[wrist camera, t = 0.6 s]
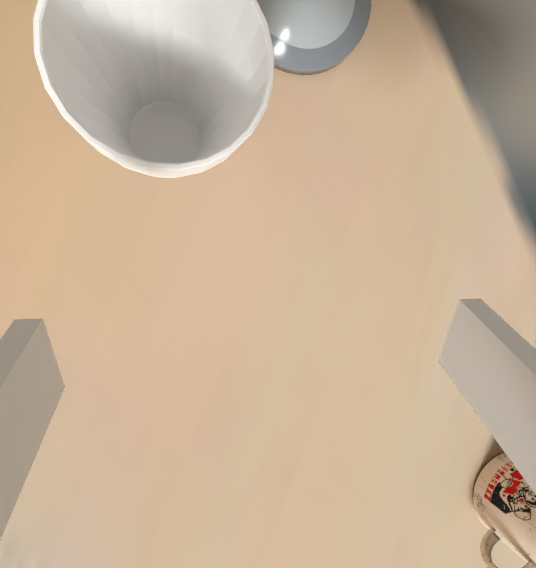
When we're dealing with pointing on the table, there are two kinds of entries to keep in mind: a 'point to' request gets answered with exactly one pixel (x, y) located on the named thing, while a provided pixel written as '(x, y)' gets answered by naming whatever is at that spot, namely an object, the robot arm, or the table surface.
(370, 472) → the table surface
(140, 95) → the cup
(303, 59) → the plate
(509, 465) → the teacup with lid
